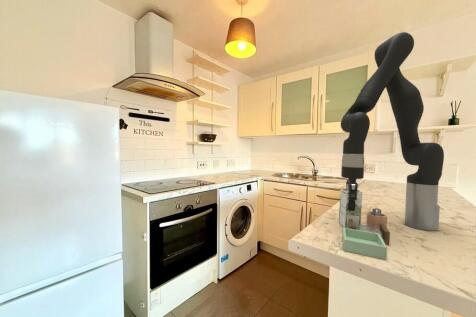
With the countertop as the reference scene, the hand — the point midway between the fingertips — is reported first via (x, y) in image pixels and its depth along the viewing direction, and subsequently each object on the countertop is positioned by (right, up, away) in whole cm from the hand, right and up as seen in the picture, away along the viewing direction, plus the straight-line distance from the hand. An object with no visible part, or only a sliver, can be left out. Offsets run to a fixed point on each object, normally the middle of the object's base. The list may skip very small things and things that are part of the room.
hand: (350, 208), depth 77 cm
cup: (+8, -8, -3) cm, 11 cm away
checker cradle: (0, -8, -9) cm, 12 cm away
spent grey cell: (+8, -8, -3) cm, 11 cm away
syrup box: (0, -8, 0) cm, 8 cm away
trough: (-6, -8, -16) cm, 19 cm away
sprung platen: (0, -6, -9) cm, 11 cm away
